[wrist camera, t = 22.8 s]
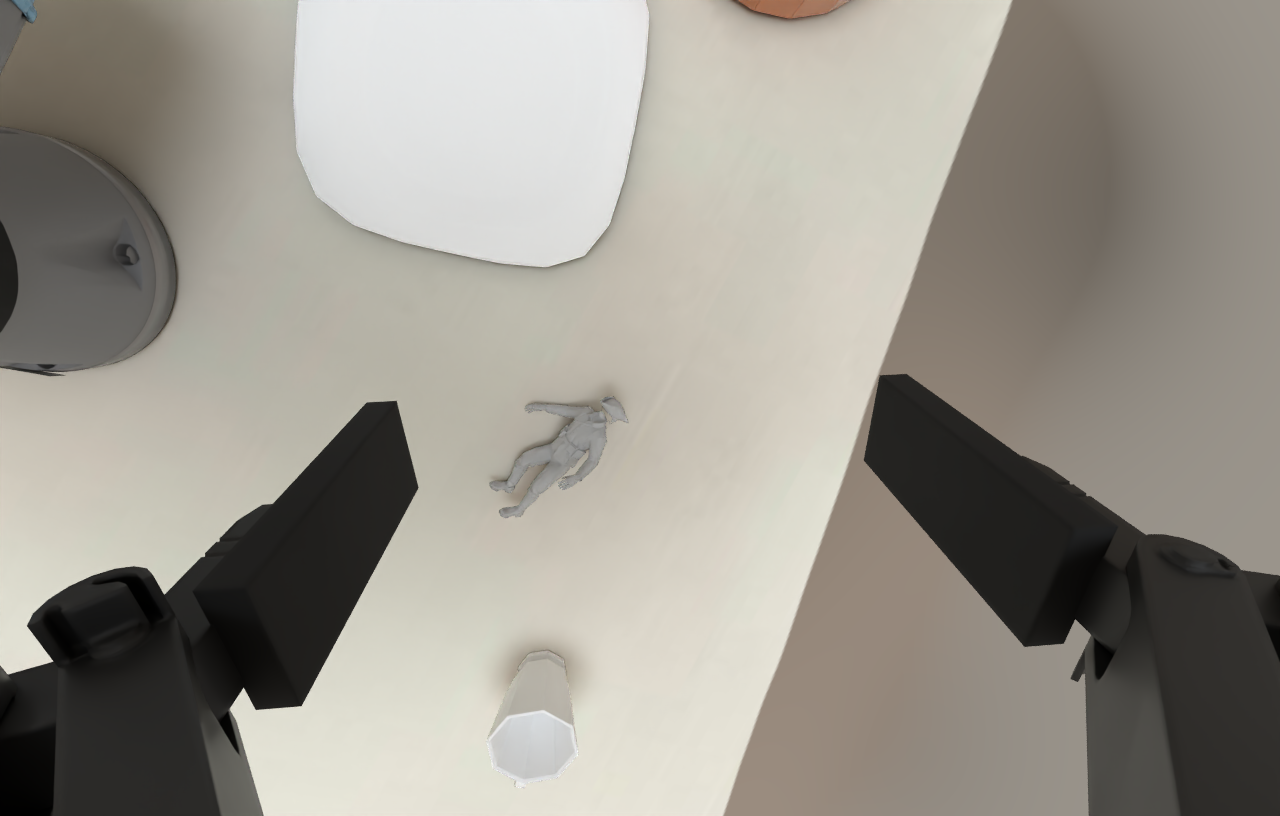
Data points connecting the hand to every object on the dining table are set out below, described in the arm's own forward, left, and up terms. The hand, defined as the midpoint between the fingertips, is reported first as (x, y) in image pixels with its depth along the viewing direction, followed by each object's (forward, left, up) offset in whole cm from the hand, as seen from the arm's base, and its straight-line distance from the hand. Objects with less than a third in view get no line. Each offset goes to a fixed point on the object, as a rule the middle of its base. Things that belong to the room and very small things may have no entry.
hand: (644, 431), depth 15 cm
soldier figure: (+3, -10, -27) cm, 29 cm away
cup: (+17, -28, -27) cm, 42 cm away
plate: (-18, +5, -27) cm, 33 cm away
